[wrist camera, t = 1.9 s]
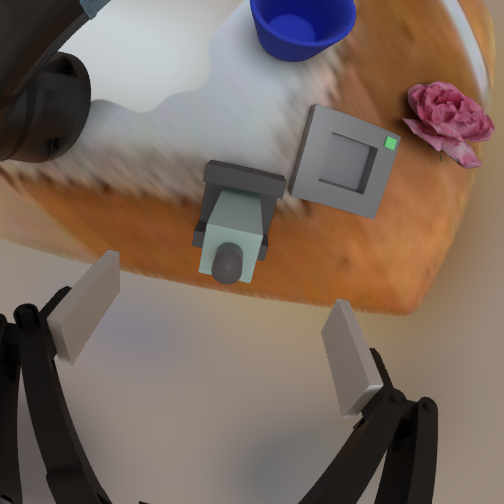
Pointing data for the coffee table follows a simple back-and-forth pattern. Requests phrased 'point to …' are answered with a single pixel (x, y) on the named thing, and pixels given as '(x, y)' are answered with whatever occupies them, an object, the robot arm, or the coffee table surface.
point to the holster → (245, 180)
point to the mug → (301, 25)
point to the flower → (449, 121)
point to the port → (343, 162)
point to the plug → (233, 236)
